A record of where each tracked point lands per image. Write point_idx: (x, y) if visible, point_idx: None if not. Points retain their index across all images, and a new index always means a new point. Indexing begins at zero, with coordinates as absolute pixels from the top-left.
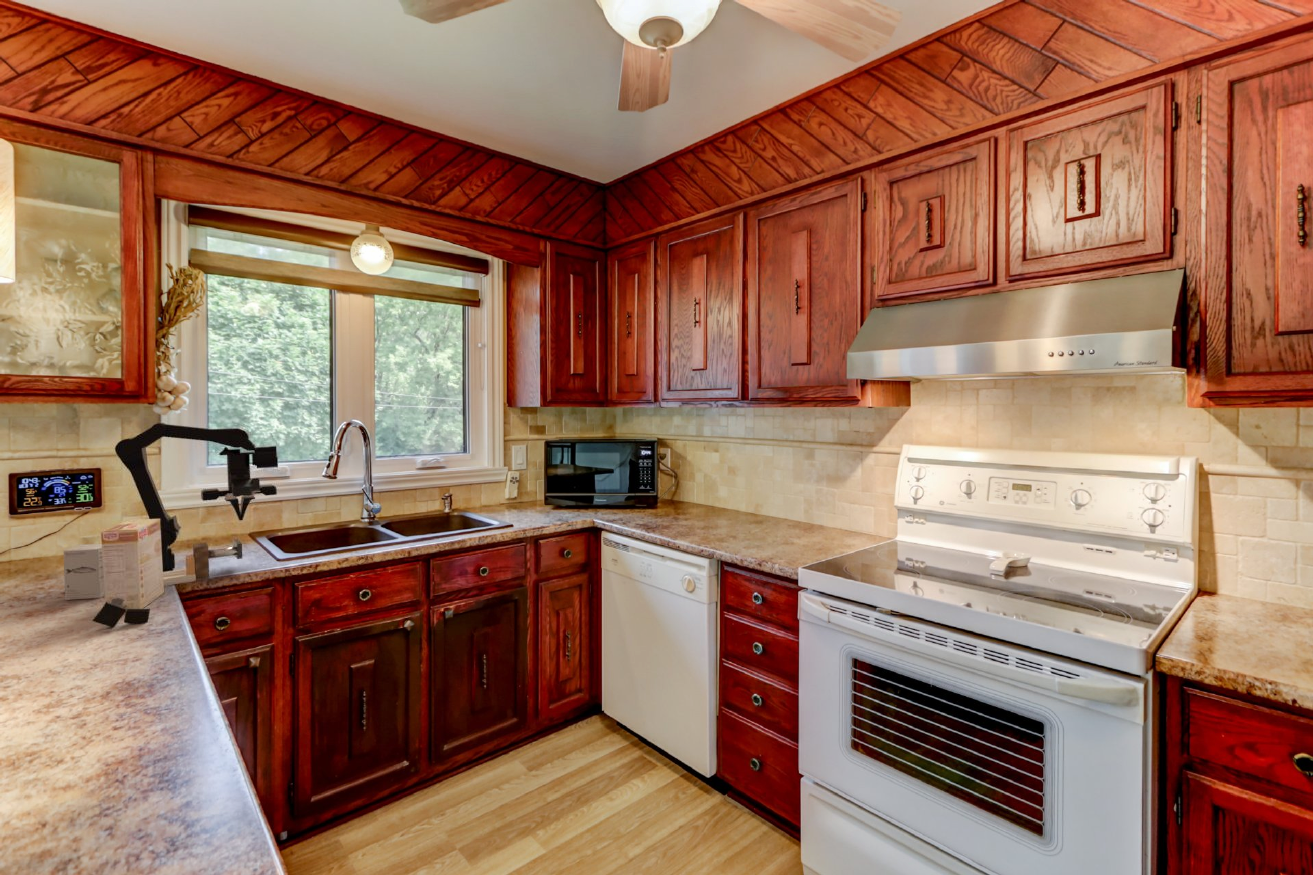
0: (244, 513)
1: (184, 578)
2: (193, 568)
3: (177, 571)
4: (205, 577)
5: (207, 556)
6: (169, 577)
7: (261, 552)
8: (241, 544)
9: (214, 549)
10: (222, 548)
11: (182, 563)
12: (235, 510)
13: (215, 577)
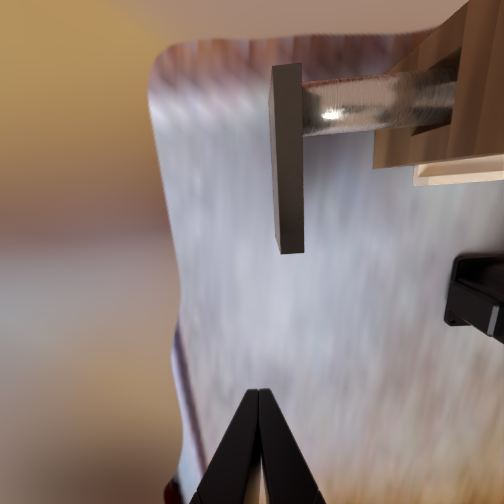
0: (223, 441)
1: None
2: None
3: (475, 173)
4: None
5: (446, 25)
6: None
7: (203, 374)
8: (274, 70)
9: (412, 92)
10: (371, 95)
11: (406, 360)
12: (320, 492)
13: (359, 71)
